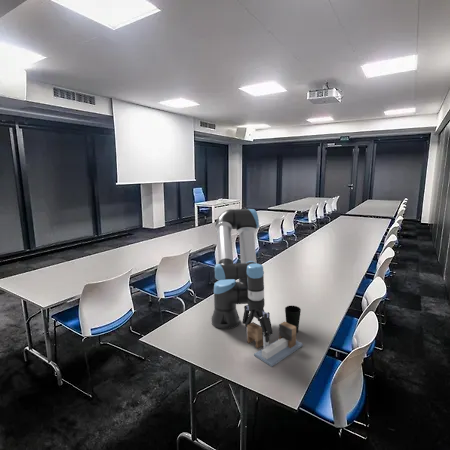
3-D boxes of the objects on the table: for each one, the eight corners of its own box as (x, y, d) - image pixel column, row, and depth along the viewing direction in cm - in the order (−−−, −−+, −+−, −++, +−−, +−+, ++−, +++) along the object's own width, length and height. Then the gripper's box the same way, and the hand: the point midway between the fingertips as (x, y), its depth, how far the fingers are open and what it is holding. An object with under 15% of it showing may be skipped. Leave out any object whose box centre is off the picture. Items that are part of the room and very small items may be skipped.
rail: (254, 355, 129) (254, 347, 129) (285, 336, 143) (285, 329, 143) (271, 366, 122) (271, 358, 121) (302, 345, 136) (302, 337, 135)
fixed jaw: (295, 344, 135) (296, 326, 133) (290, 348, 132) (290, 330, 131) (284, 338, 140) (284, 321, 138) (279, 342, 137) (279, 324, 136)
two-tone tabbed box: (247, 342, 139) (247, 325, 138) (253, 339, 142) (253, 322, 140) (257, 348, 134) (257, 330, 133) (263, 345, 137) (263, 327, 135)
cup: (282, 332, 148) (282, 310, 145) (288, 325, 154) (288, 304, 152) (297, 336, 143) (297, 313, 141) (302, 329, 150) (302, 307, 147)
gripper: (233, 293, 140) (235, 337, 143) (269, 307, 123) (270, 356, 126) (244, 289, 144) (246, 331, 148) (280, 302, 128) (281, 349, 131)
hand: (257, 343), depth 137 cm, fingers open, 10 cm apart
